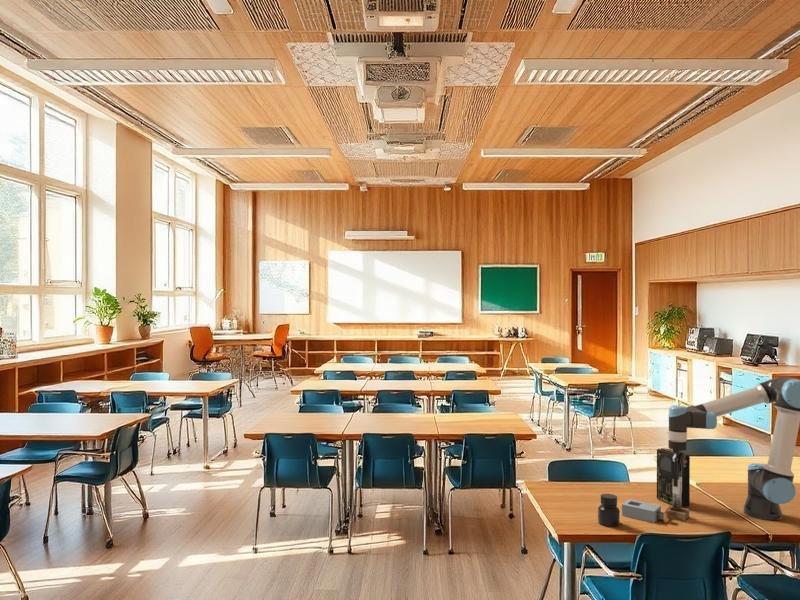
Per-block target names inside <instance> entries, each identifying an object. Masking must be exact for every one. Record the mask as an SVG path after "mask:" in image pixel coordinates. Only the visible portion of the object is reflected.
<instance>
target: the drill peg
mask: <svg viewBox="0 0 800 600" xmlns="http://www.w3.org/2000/svg"><path fill="white" fill-rule="evenodd" d="M679 479H680V484H679V494H675V493H673V507H675V508H682V507H681V499H682V471H679Z"/></svg>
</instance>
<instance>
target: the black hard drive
mask: <svg viewBox="0 0 800 600" xmlns="http://www.w3.org/2000/svg"><path fill="white" fill-rule="evenodd" d="M672 453H673V450H672V449H670V448H665V447H664V448H662V447H661V448H657V449H656V498H657V500H659V501H661V502H663V503H666V504H667V505H669V506H673V479H671V457H672ZM690 461H691V458H690V454H689V455H688V454H685V453H684V465H683V475H684V477H682V499H681V508H688V507H690V505H691V504H690V503H691V502H690V501H691V499H690V496H691V493H690V492H691V491H690V489H691V487H690V486H691V485H690V484H691V483H690V482H691V478H690V476H691V473H690V467H691V465H690V463H691V462H690Z"/></svg>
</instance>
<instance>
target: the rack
mask: <svg viewBox="0 0 800 600" xmlns="http://www.w3.org/2000/svg"><path fill="white" fill-rule="evenodd" d="M665 511H669V520H675V521H678V522H683V523H685V522H687V521H688V519H689V518H690V509H689V508H686V507H681V508H675V507H673V506H672V505H669V506H668V507H667V508H666V509H665Z"/></svg>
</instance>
